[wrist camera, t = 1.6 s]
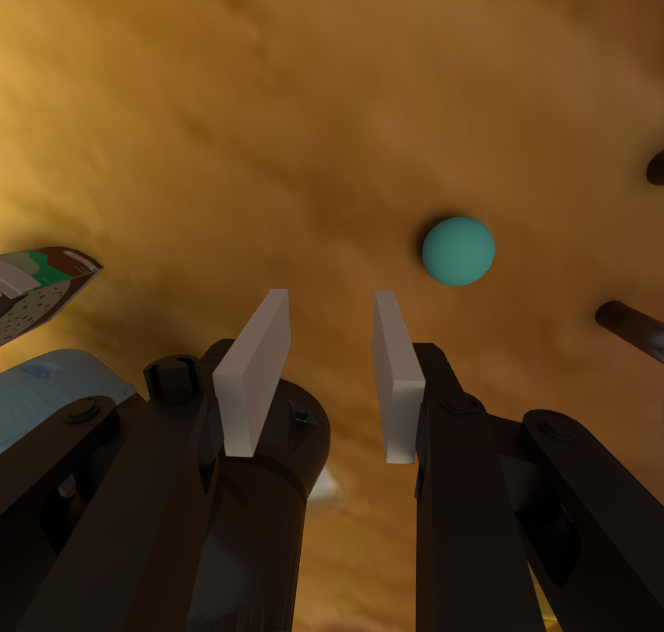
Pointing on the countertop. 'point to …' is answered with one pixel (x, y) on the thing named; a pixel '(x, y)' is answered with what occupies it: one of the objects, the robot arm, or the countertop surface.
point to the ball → (458, 251)
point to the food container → (39, 286)
